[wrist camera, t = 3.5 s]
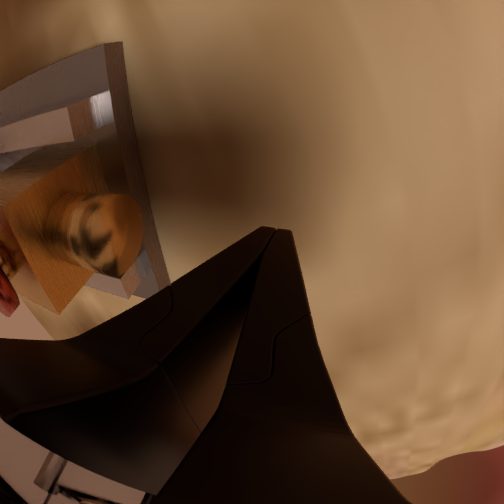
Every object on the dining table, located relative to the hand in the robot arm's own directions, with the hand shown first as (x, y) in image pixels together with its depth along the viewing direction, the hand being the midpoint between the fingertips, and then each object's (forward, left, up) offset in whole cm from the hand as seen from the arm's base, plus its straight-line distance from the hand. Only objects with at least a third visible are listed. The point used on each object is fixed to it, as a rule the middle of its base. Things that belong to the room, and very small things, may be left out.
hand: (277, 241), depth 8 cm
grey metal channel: (+15, 0, -2) cm, 16 cm away
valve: (+9, 0, -1) cm, 10 cm away
